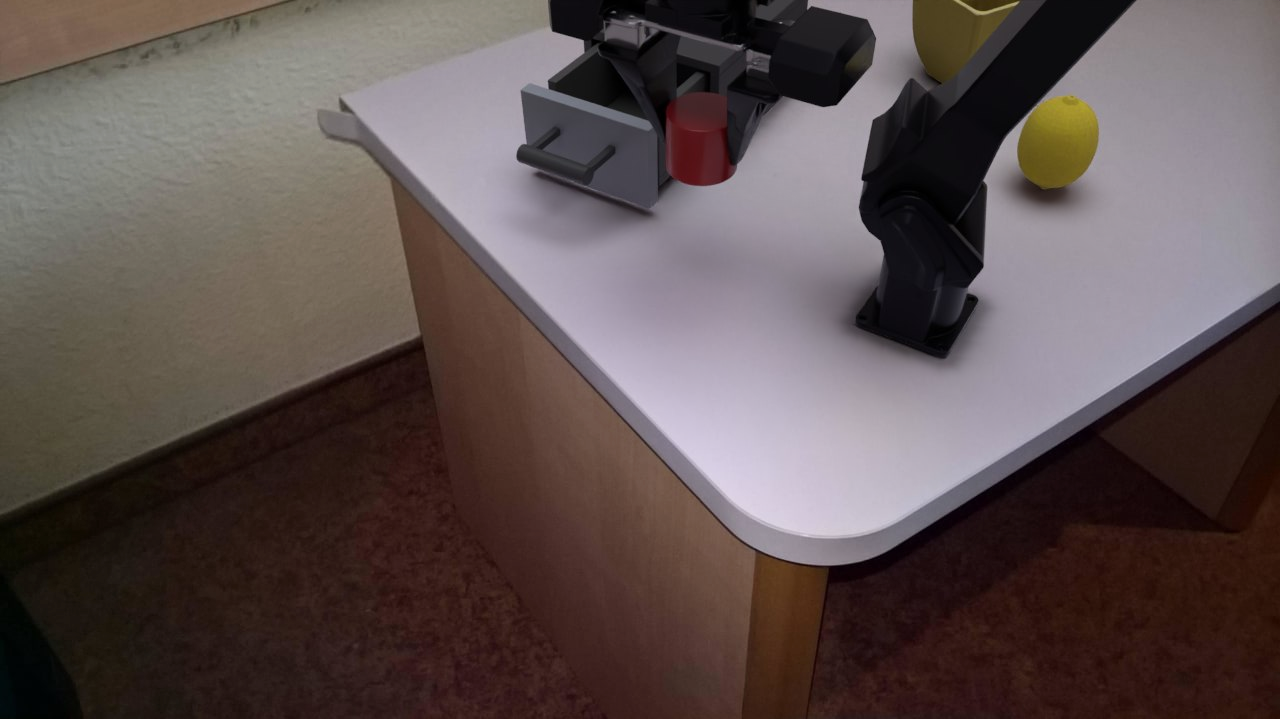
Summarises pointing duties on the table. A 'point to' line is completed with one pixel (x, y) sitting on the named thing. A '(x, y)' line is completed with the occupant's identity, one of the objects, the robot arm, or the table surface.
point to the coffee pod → (698, 139)
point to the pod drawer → (598, 129)
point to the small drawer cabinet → (723, 48)
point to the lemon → (1058, 142)
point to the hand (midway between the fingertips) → (702, 151)
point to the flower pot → (954, 31)
